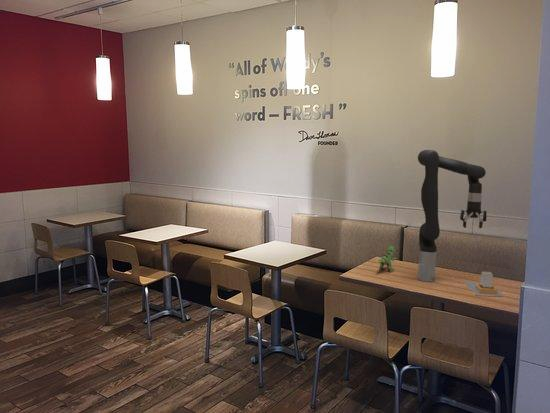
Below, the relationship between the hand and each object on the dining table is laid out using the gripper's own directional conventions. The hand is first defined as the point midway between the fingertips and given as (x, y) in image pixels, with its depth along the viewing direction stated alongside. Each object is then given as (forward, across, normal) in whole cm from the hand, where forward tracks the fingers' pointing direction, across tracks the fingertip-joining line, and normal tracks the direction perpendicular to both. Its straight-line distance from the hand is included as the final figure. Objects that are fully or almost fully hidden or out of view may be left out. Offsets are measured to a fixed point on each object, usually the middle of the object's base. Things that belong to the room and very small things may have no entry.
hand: (472, 227), depth 289 cm
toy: (+30, -47, +6) cm, 56 cm away
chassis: (+30, +1, -24) cm, 39 cm away
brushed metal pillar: (+29, +1, -29) cm, 41 cm away
